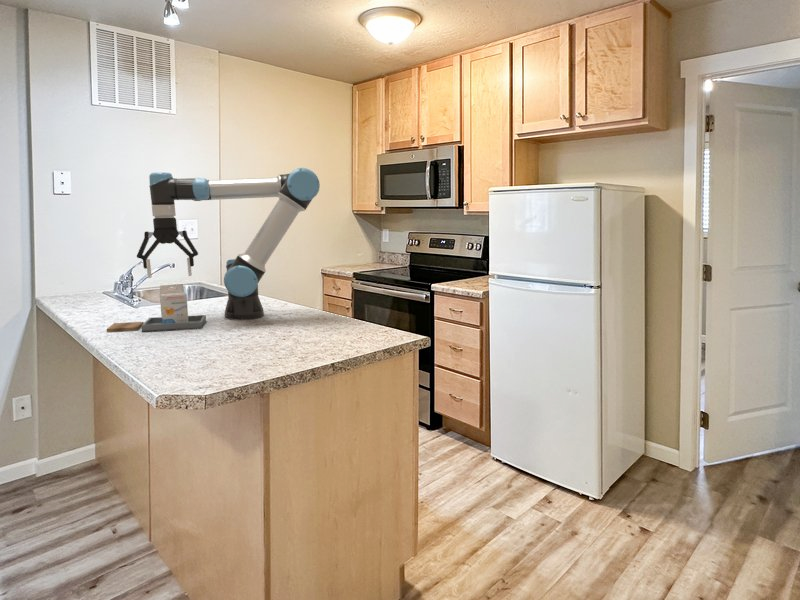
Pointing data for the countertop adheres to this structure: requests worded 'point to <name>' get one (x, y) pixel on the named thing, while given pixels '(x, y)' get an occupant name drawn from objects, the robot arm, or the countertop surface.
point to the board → (125, 327)
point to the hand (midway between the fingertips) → (170, 276)
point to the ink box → (173, 304)
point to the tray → (173, 324)
